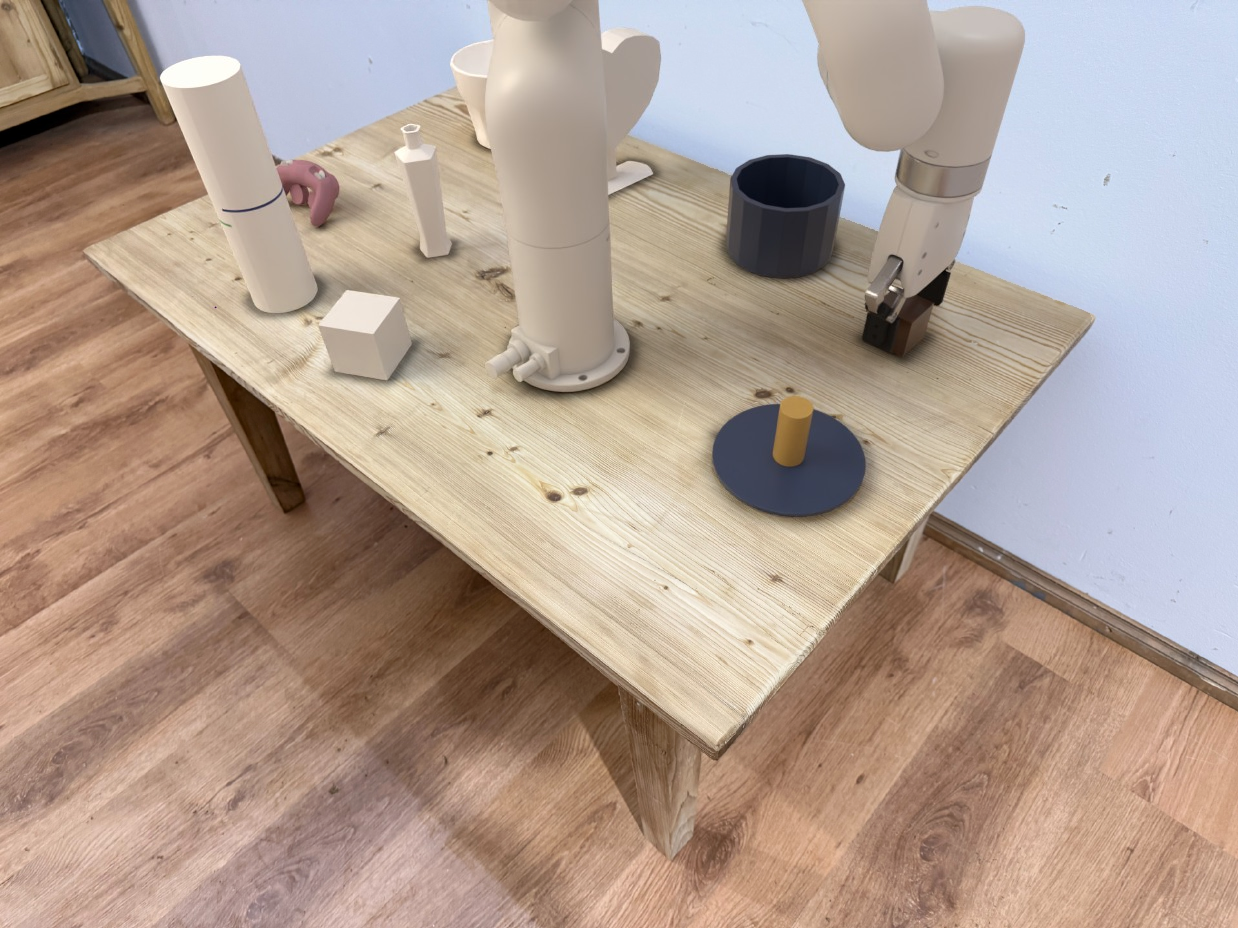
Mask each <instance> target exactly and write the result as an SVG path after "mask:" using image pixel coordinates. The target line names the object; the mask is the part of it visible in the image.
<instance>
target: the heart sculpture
mask: <svg viewBox="0 0 1238 928" xmlns="http://www.w3.org/2000/svg"><path fill="white" fill-rule="evenodd" d="M601 42H602V56H603V69H604V79H605V95H606V111H607V174H608V196H610V195H611V194H614V193H617V192H618V191H620V190H622V189H625V188H627V187H629V186H631V185H633V184H635V183H637V182H639V181H641V180H644V179H645V178H648V177H650V176H652V175H654V172H653V170H652V169H651V167H650V166H649V165H648V164H646V163H644V162H639V161H634V160H627V161H625V162H622V163H620V164H618V165H617V149H618V148H619V146H621V144H622V142H623V141H624V140H625V138H626V137H627V136H628V134H630V132H631V131H632V130H633V128H634V127H635V126H636V125H637V124H638V122H639V121H640V119H641V118H642V116H643V114H644V113H645V111H646V110H647V108H648V107H649V106H650V103H651V101H652V98H653V96H654V93H655V91H656V89H657V86H658V83H659V79H660V73H661V72H660V71H661V65H662V64H661V62H662V51H661V44H660V41H659V40H658V39H657V38H655V37H654V36H653V35H650V34H648V33H646V32H642V31H640V30H638V29H636V28H632V27H625V26H623V27H613V28H610V29H606V30H605V31H604V32H603V33H601Z"/></svg>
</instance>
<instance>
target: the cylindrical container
mask: <svg viewBox="0 0 1238 928" xmlns="http://www.w3.org/2000/svg"><path fill="white" fill-rule="evenodd" d="M159 80H160V82H161V85H162V87H163V89H164V92H165V94H166V96H167V99H168V101H169V105H170V106H171V108H172V111H173V114H174V116H175V118H176V121H177V123H178V125H179V128H180V130H181V132H182V135H183V137H184V140H185V143H186V144H187V147H188V149H189V152H190V154H191V156H192V159H193V161H194V164H195V166H196V168H197V171H198V173H199V176H200V178H201V180H202V183H203V186H204V188H205V190H206V193H207V195H208V197H209V200H210V202H211V205H212V207H213V209H214V211H215V214H216V217H217V218H218V221H219V224H220V225H221V228H222V231H223V233H224V235H225V238H226V240H227V243H228V244H229V247H230V250H231V252H232V254H233V257H234V259H235V261H236V264H237V267H238V269H239V271H240V273H241V276H242V278H243V281H244V283H245V286H246V288H247V290H248V293H249V295H250V297H251V300H252V302H253V304H254V306H255V307H256V308H257V309H258V310H260V311H261V312H265V313H267V314H268V313H269V314H284V313H290V312H293V311H296V310H298V309H301V308H303V307H305V306H306V305H308V304H309V303H310V302H312V301H313V300H314V299H315V297H316V296H317V294H318V285H317V282H316V279H315V276H314V273H313V270H312V267H311V265H310V261H309V259H308V255H307V253H306V250H305V247H304V244H303V241H302V238H301V235H300V233H299V230H298V227H297V224H296V221H295V218H294V215H293V213H292V209H291V205H290V203H289V201H288V197H287V196H286V195H285V192H284V189H283V186H282V183H281V180H280V177H279V174H278V172H277V169H276V168H277V166H276V163H275V160H274V157H273V155H272V152H271V148H270V145H269V143H268V139H267V137H266V134H265V132H264V129H263V125H262V122H261V120H260V117H259V114H258V111H257V109H256V105H255V103H254V99H253V96H252V94H251V91H250V88H249V85H248V82H247V79H246V77H245V73H244V70H243V67H242V65H241V63H240V61H239V60H237V58H234V57H231V56H228V55H227V56H226V55H204V56H197V57H192V58H188V59H185V60H181V61H179V62H176V63H174V64H172V65H169V67H167V68H166V69H164V70H163V71H162V72H161V74H160V75H159Z"/></svg>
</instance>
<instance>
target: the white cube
mask: <svg viewBox="0 0 1238 928" xmlns="http://www.w3.org/2000/svg"><path fill="white" fill-rule="evenodd" d="M317 326H318V329H319V332H320V335H321V337H322V340H323V343H324V346H325V349H326V352H327V354H328V357H329V360H330V363H331V365H332V369H333V372H335V373H340V374H347V375H352V376H358V377H363V378H364V377H365V378H370V379H371V378H372V379H376V380H381V381H388V380H390V378H391V376H392V374H393V373H394V372H395V370H396V369H397V368H398V366H399V364H400V363H401V361H402V360H403V359H404V357H405V356H406V354H407V353H408V351H409V349H411V347H412V345H413V342H412V339H411V334H410V331H409V327H408V324H407V319H406V316H405V312H404V308H403V304H402V301H401V298H400V297H397V296H391V295H390V296H389V295H384V294H376V293H370V292H364V291H363V292H362V291H356V290H351V289H350V290H349V289H346V290H345V291H344V293H342V295H341V296H340V297H339V298H338V300H337V301H336V302H335V304H334V305H333V306H332V307H331V309H330V310H329V311H328V313H326V315H325V316H324V317H323V319H321V321H320V322H319V323H318V325H317Z"/></svg>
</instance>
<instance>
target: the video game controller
mask: <svg viewBox="0 0 1238 928" xmlns="http://www.w3.org/2000/svg"><path fill="white" fill-rule="evenodd" d="M276 169H277V172H278V174H279V177H280V180H281V183H282V186H283V189H284V192H285V195H286V197H287V196H288V195H289V193H290V198H291V201H292V203H294V204H296V205H307V204H308V207H309V208H310V213H309V214H310V215H309V221H310V224H311V225H312V226H314V227H320V226H322V225H324V224H325V222H327V220H328V219H329V217H330V216H331V214H332V212H333V209H334V205H335V202H336V200H337V199H338V197H339V195H340V183H339V181H338V179H337V177H336V176H335V175H334V174H333V173H329V172H328V171H327V169H325V168H324V167H322V166H321V165H319V164H317V163H315V162H313V161H311V160H307V159H288V160H286V161H284V160H282V161H280V164H279V165H278V166H276ZM309 189H310V190H312V191H311V192H310V191H309Z"/></svg>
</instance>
